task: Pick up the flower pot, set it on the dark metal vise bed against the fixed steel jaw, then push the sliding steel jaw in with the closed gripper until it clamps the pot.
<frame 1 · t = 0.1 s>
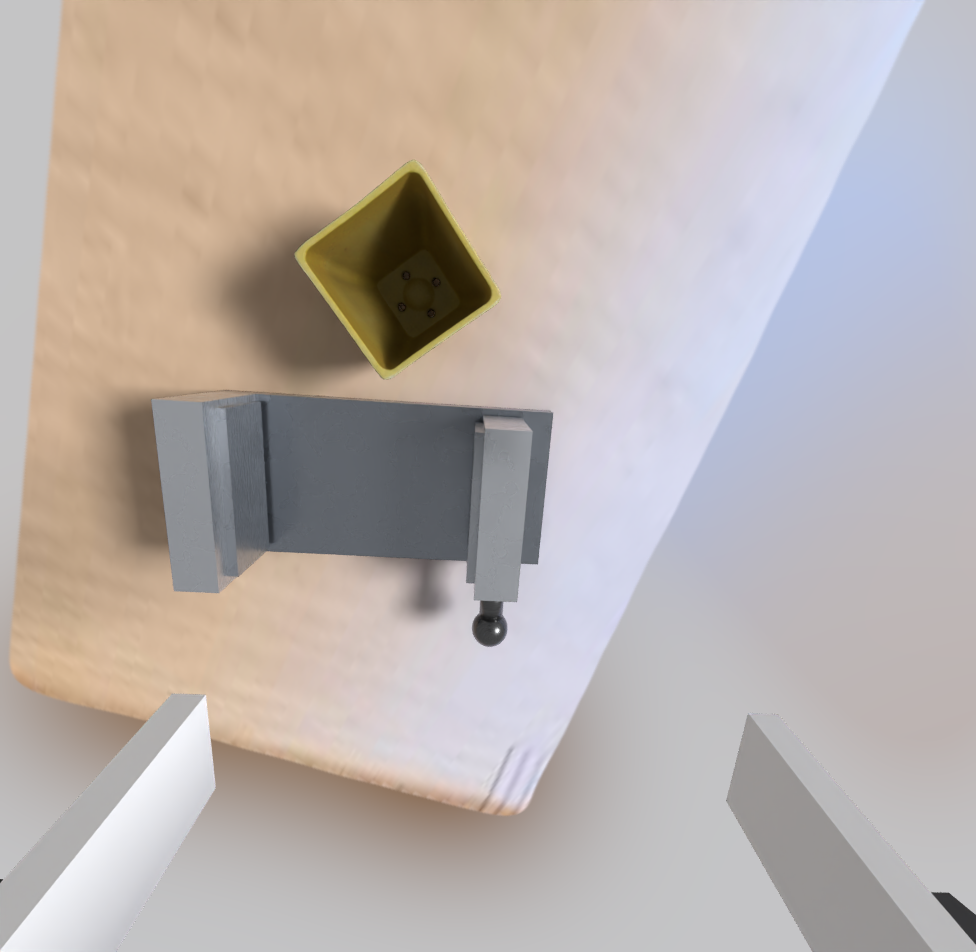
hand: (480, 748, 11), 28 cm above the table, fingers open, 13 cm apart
vise base: (389, 478, 38), on the table
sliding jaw: (492, 539, 34), point 5 cm above the table, slide at 0.0 cm
flower pot: (418, 297, 35), on the table
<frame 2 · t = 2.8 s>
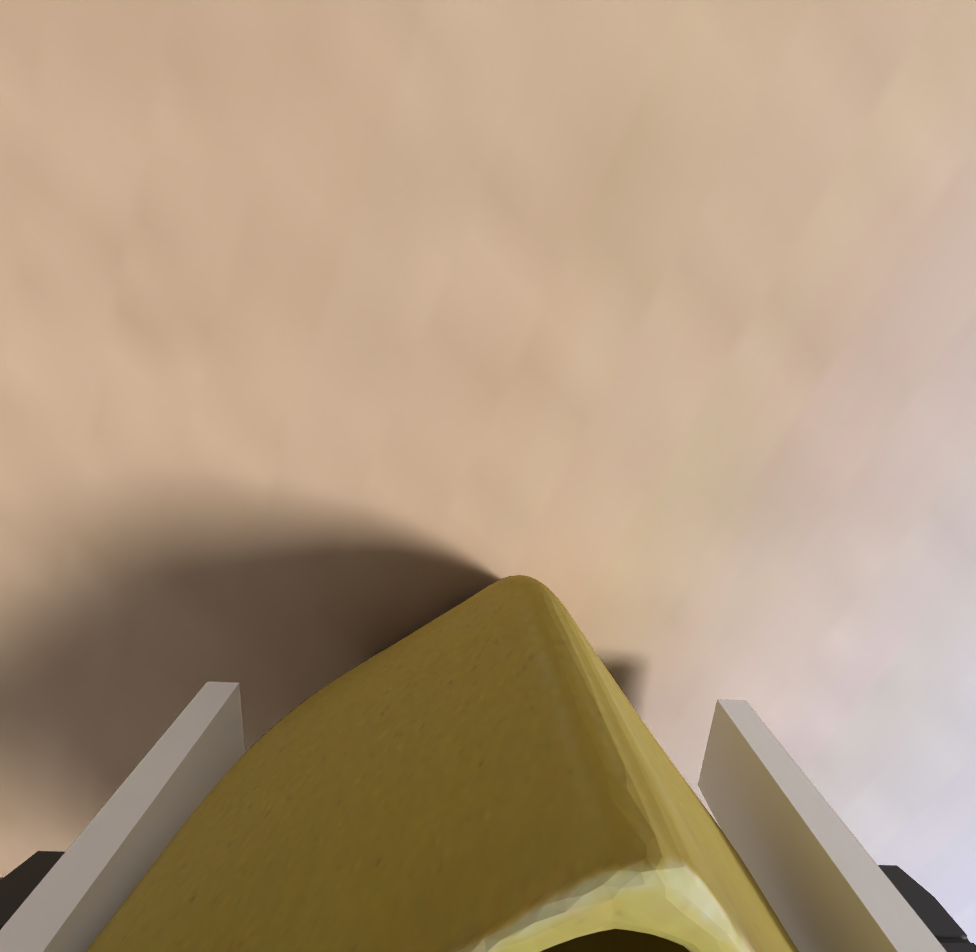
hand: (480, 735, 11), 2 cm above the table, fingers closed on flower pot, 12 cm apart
flower pot: (479, 679, 13), on the table, touching gripper
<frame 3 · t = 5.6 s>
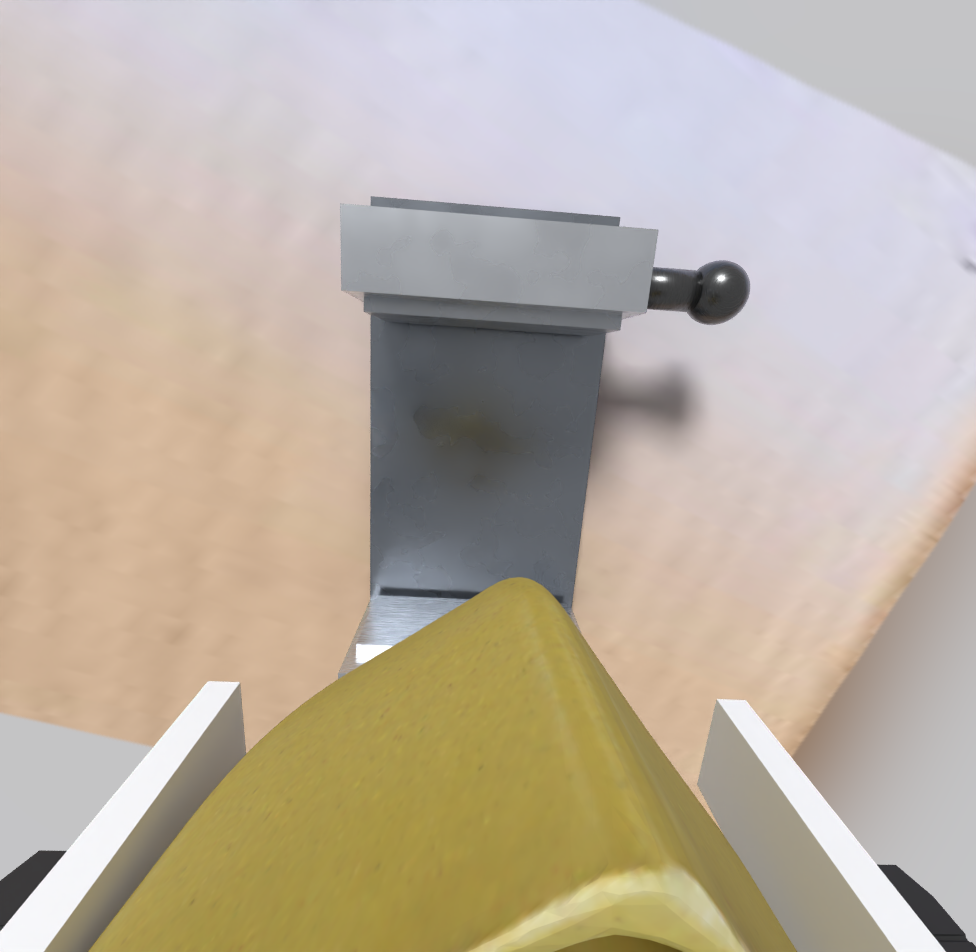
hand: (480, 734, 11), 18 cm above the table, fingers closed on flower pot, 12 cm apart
vise base: (481, 447, 28), on the table
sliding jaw: (556, 288, 21), point 5 cm above the table, slide at 0.0 cm
flower pot: (479, 680, 13), point 16 cm above the table, touching gripper
when the fingers open (5 cm above the table, at t = 8.7 s): flower pot drops 1 cm, resting on vise base.
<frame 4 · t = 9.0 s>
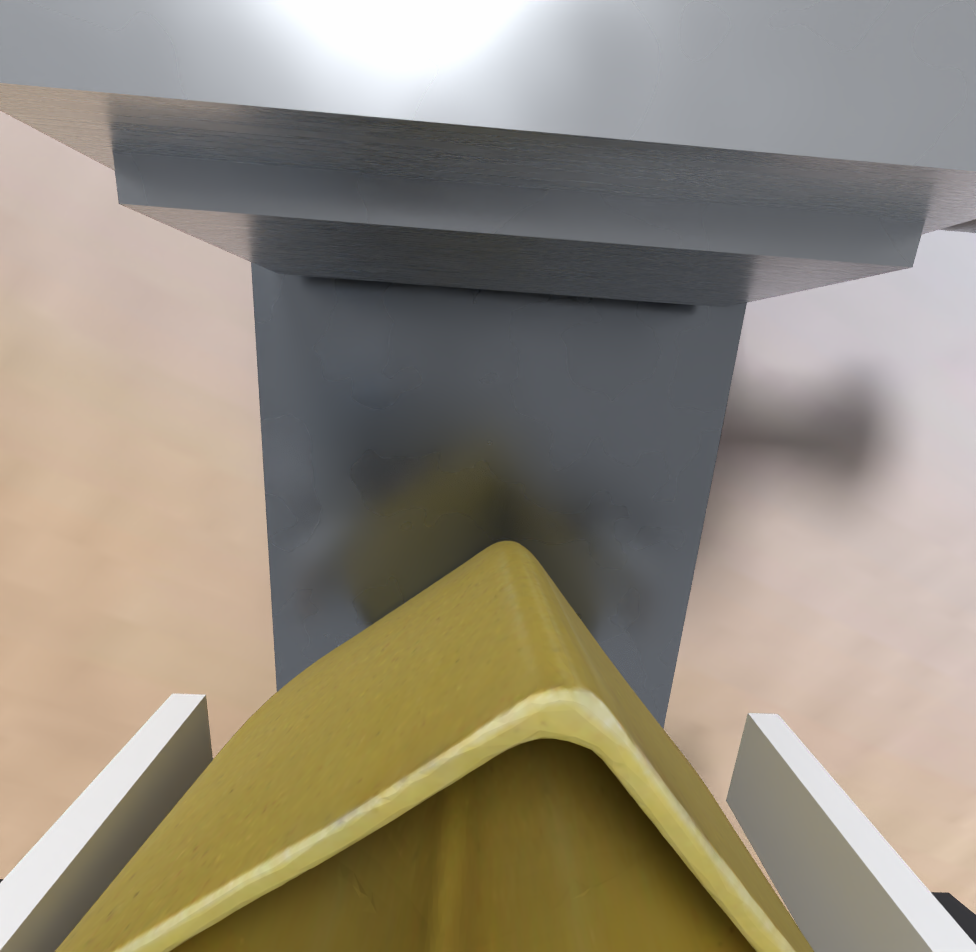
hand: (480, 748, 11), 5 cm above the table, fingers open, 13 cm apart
vise base: (486, 522, 15), on the table
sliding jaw: (691, 167, 8), point 5 cm above the table, slide at 0.0 cm
flower pot: (475, 645, 15), point 1 cm above the table, touching vise base
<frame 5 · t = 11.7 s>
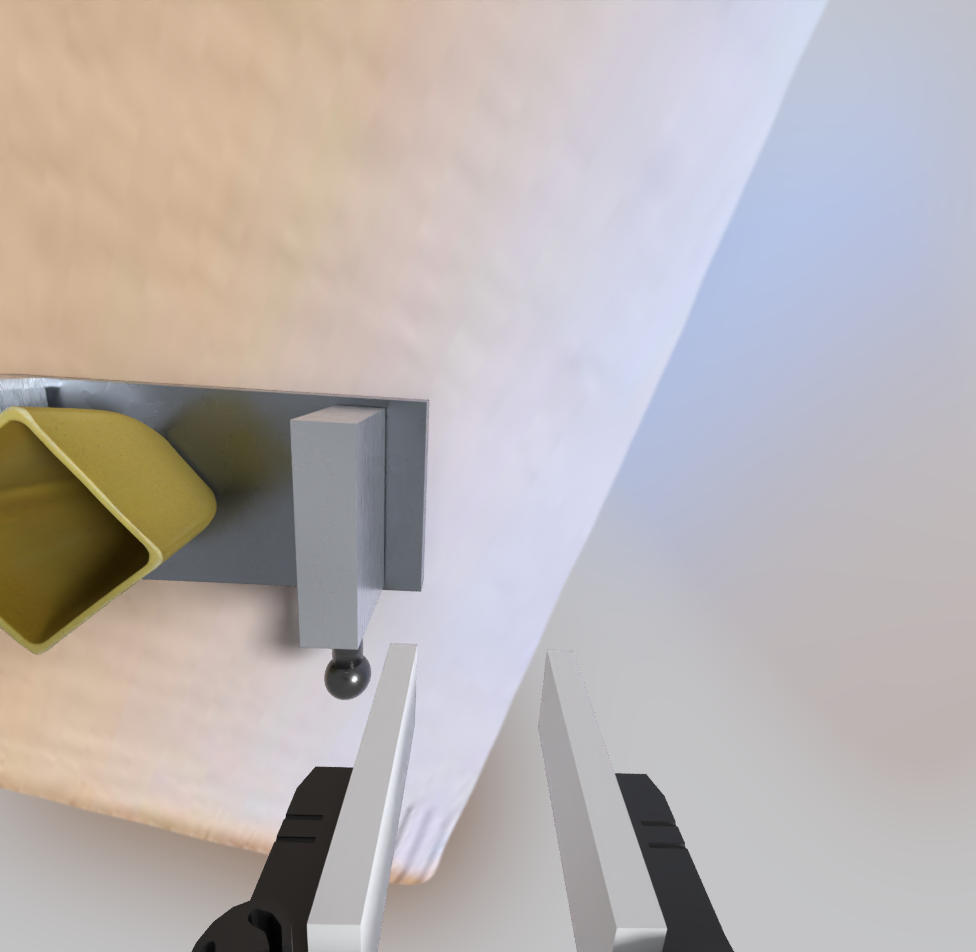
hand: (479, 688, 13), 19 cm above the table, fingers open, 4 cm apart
vise base: (232, 484, 30), on the table
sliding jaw: (341, 565, 26), point 5 cm above the table, slide at 0.0 cm
flower pot: (162, 484, 29), point 1 cm above the table, touching vise base
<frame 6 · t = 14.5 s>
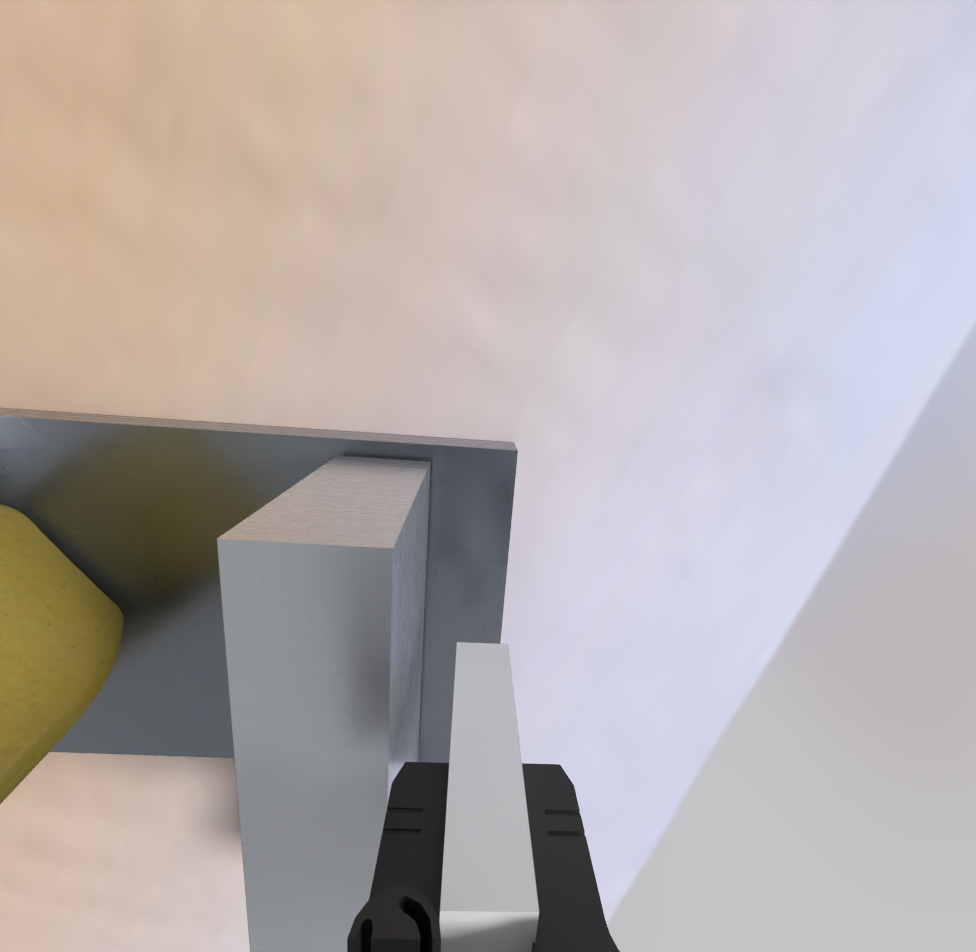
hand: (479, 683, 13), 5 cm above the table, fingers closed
vise base: (165, 585, 17), on the table
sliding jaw: (346, 775, 13), point 5 cm above the table, slide at 0.3 cm, touching gripper
flower pot: (30, 593, 16), point 1 cm above the table, touching vise base
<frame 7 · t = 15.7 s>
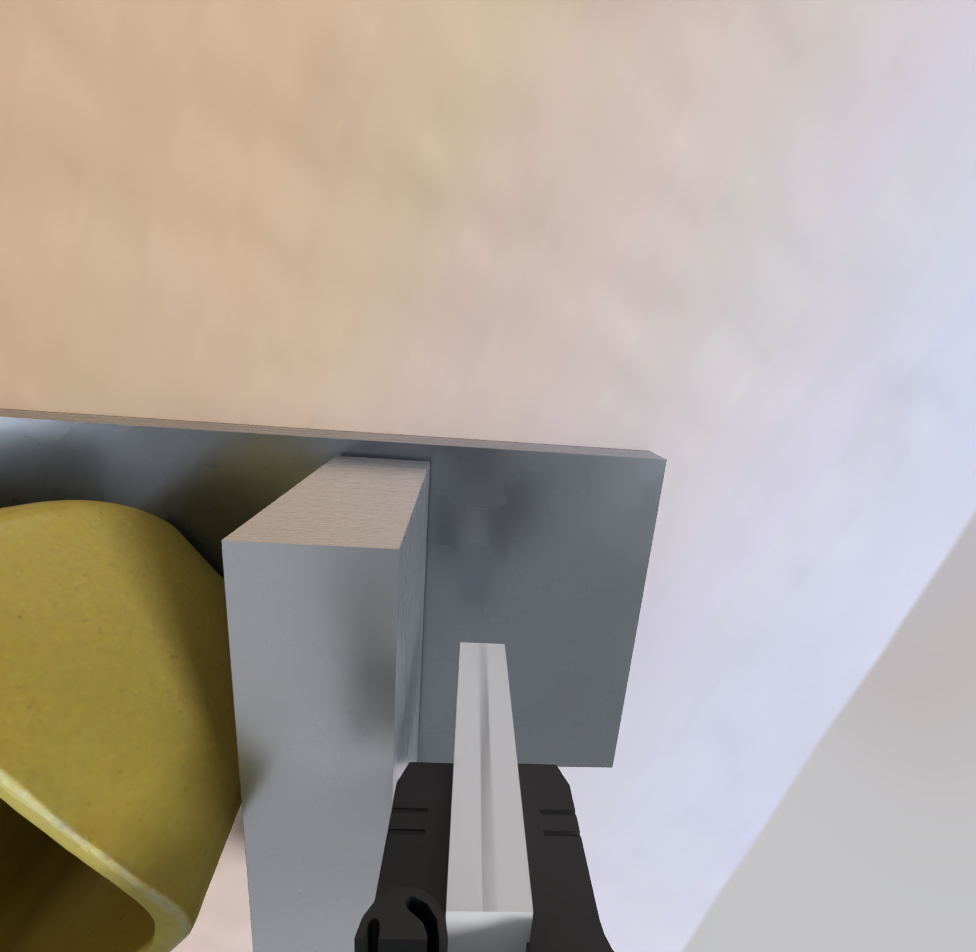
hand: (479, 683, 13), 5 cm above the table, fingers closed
vise base: (297, 593, 17), on the table
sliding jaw: (347, 776, 13), point 5 cm above the table, slide at 5.5 cm, touching flower pot, gripper
flower pot: (168, 604, 16), point 1 cm above the table, touching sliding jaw, vise base
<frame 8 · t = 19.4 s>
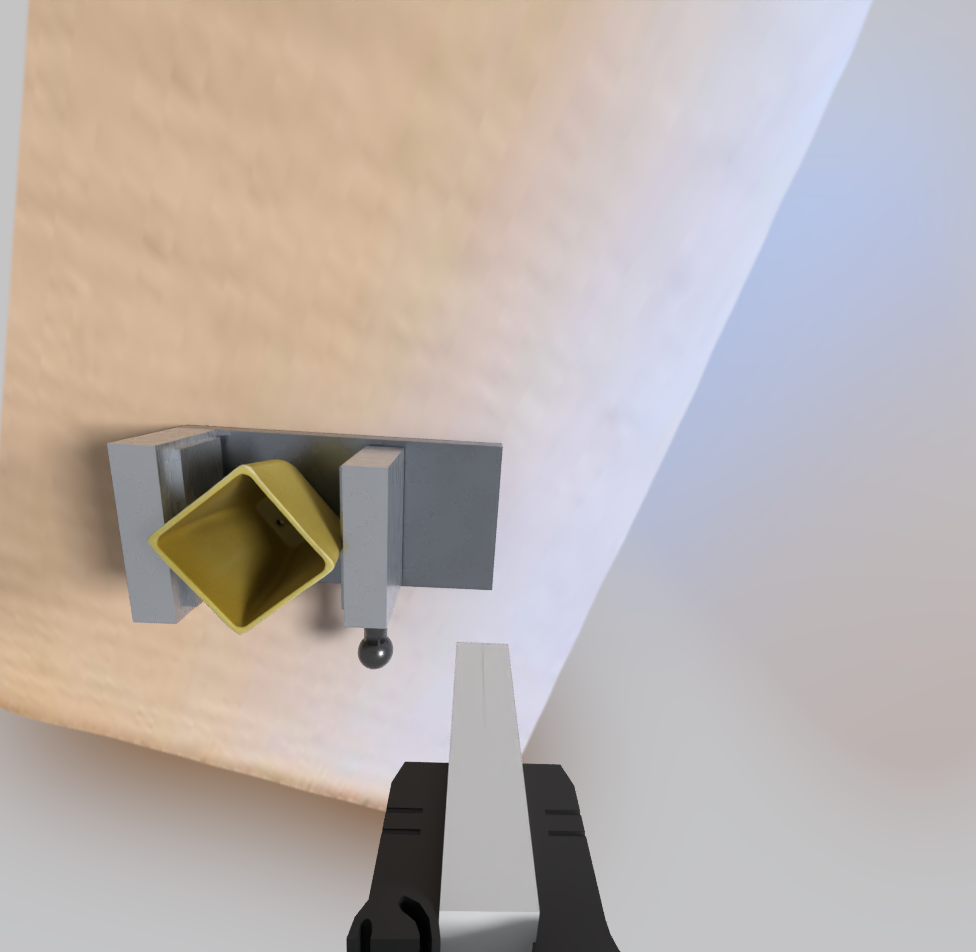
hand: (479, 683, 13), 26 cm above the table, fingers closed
vise base: (348, 507, 39), on the table
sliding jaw: (372, 566, 35), point 5 cm above the table, slide at 5.5 cm
flower pot: (295, 509, 38), point 1 cm above the table, touching vise base
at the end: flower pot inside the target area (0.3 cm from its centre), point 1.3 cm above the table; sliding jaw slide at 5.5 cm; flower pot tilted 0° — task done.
